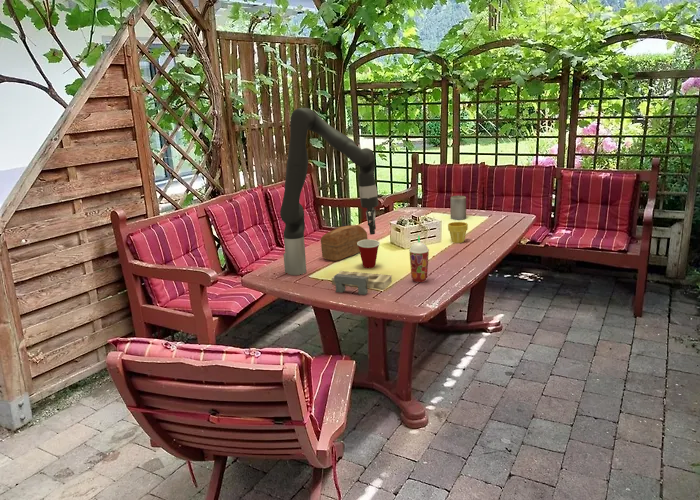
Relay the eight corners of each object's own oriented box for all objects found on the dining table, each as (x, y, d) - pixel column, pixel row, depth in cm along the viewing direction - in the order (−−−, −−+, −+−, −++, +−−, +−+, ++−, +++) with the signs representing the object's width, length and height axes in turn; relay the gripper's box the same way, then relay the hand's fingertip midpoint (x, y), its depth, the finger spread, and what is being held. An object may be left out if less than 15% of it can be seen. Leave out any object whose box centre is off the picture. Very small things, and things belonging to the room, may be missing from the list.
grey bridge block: (334, 291, 238) (334, 276, 236) (337, 289, 241) (336, 273, 239) (366, 295, 233) (365, 278, 231) (368, 292, 236) (368, 276, 234)
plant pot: (444, 241, 307) (444, 224, 304) (456, 238, 313) (456, 220, 311) (459, 245, 299) (459, 227, 297) (471, 241, 306) (471, 223, 303)
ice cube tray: (332, 284, 247) (331, 277, 247) (341, 277, 256) (340, 270, 256) (384, 289, 239) (384, 282, 238) (391, 281, 247) (391, 275, 247)
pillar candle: (457, 215, 366) (457, 193, 362) (469, 218, 358) (469, 194, 354) (447, 218, 360) (447, 195, 356) (459, 220, 353) (459, 197, 348)
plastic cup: (361, 271, 263) (360, 246, 260) (355, 264, 273) (354, 240, 270) (383, 268, 266) (383, 243, 263) (376, 262, 276) (375, 238, 273)
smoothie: (427, 276, 252) (427, 232, 247) (430, 282, 244) (430, 237, 238) (408, 277, 252) (407, 233, 246) (411, 283, 244) (410, 238, 238)
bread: (317, 259, 285) (316, 232, 281) (353, 247, 305) (352, 220, 301) (335, 263, 277) (334, 235, 273) (371, 250, 297) (370, 223, 294)
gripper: (361, 193, 252) (365, 229, 256) (358, 199, 238) (363, 236, 243) (377, 191, 251) (382, 227, 255) (376, 197, 238) (381, 235, 242)
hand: (373, 231), depth 249 cm, fingers open, 8 cm apart
